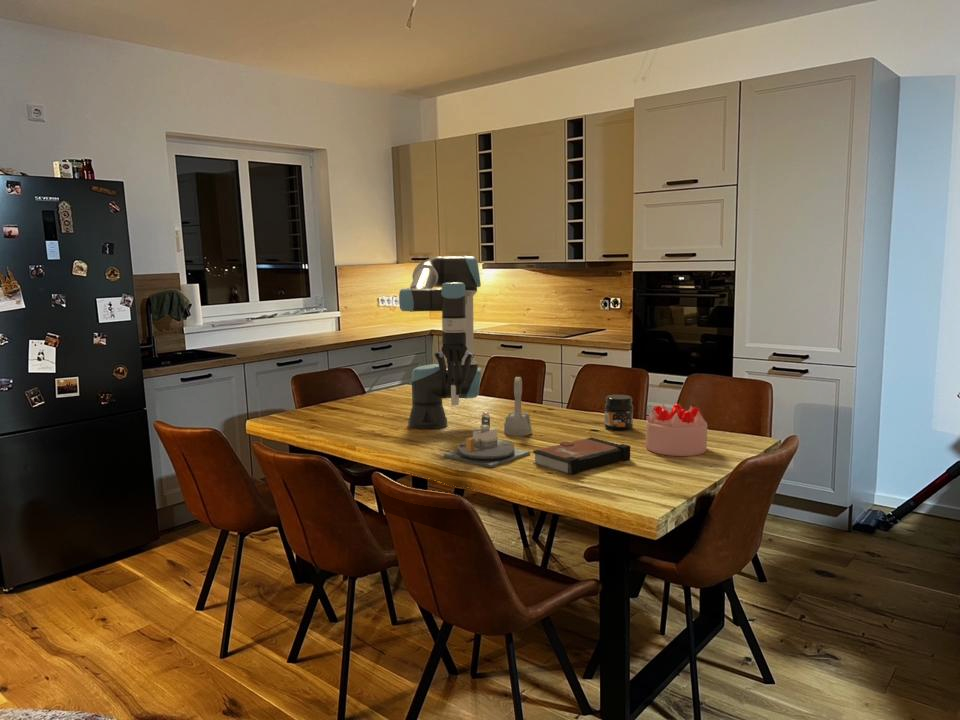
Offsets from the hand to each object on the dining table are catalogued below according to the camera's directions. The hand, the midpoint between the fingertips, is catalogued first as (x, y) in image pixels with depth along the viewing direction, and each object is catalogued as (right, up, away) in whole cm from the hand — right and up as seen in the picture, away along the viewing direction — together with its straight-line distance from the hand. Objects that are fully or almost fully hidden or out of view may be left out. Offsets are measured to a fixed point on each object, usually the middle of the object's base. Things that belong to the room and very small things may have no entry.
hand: (455, 404), depth 233 cm
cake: (+74, -16, +10) cm, 76 cm away
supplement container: (+60, -12, +40) cm, 73 cm away
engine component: (+22, -13, +35) cm, 44 cm away
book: (+40, -18, -4) cm, 44 cm away
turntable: (+10, -16, +3) cm, 19 cm away
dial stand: (+10, -14, +13) cm, 22 cm away
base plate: (+10, -17, +4) cm, 20 cm away
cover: (+10, -13, +4) cm, 17 cm away
